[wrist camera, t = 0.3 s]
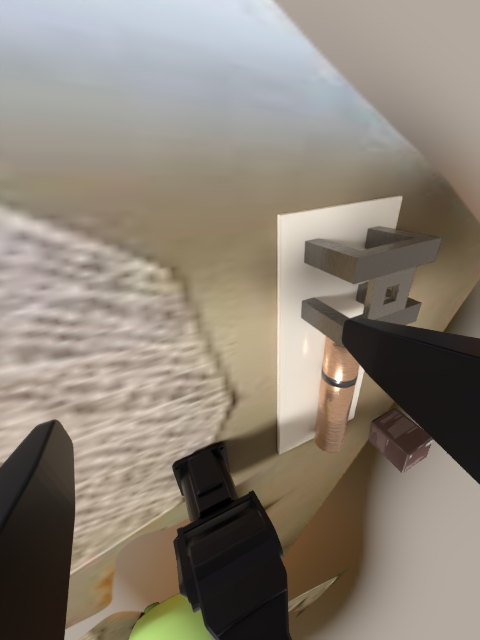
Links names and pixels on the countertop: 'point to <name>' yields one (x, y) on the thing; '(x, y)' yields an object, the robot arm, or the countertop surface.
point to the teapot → (170, 622)
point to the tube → (335, 396)
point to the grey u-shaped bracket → (370, 276)
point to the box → (400, 439)
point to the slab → (307, 282)
